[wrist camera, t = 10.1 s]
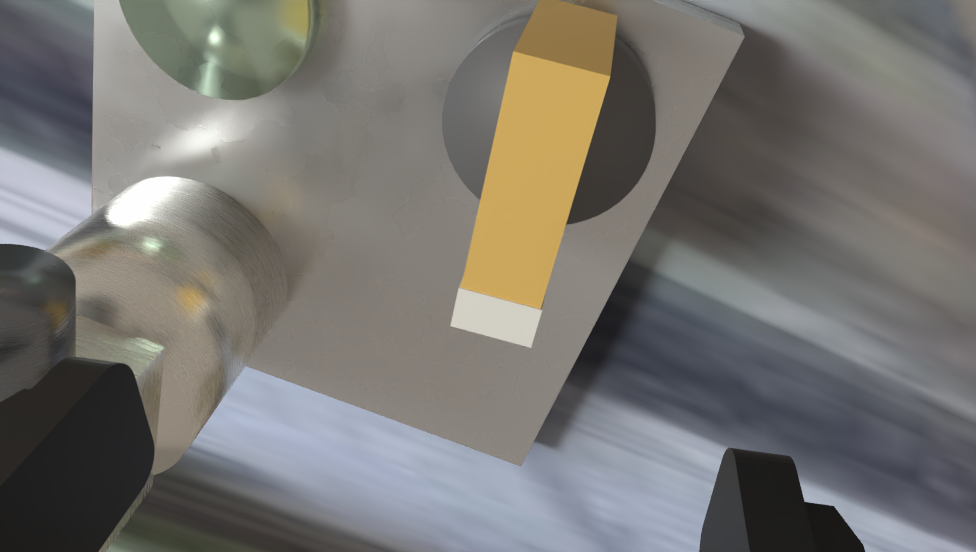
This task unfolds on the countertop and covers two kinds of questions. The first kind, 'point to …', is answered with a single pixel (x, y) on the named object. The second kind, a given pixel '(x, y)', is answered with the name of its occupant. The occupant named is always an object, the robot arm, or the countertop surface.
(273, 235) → the base
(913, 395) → the countertop surface
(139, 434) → the robot arm
